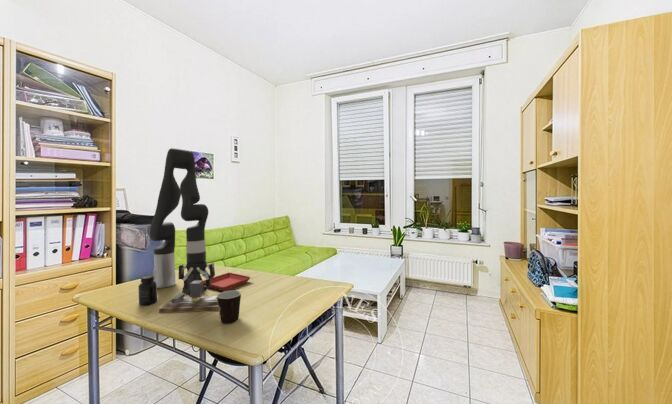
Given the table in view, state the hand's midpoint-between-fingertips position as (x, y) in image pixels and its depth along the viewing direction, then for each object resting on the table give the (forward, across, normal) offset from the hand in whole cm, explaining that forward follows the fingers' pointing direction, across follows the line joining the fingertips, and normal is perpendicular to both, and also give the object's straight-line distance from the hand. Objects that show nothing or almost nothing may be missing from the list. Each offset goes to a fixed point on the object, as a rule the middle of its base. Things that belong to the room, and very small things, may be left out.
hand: (197, 288), depth 123 cm
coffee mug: (+8, -18, +17) cm, 26 cm away
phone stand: (+8, +9, -19) cm, 23 cm away
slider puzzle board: (+8, -1, -1) cm, 8 cm away
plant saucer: (+8, -4, -28) cm, 30 cm away
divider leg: (+5, 0, -1) cm, 5 cm away
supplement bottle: (+8, +23, -5) cm, 25 cm away
